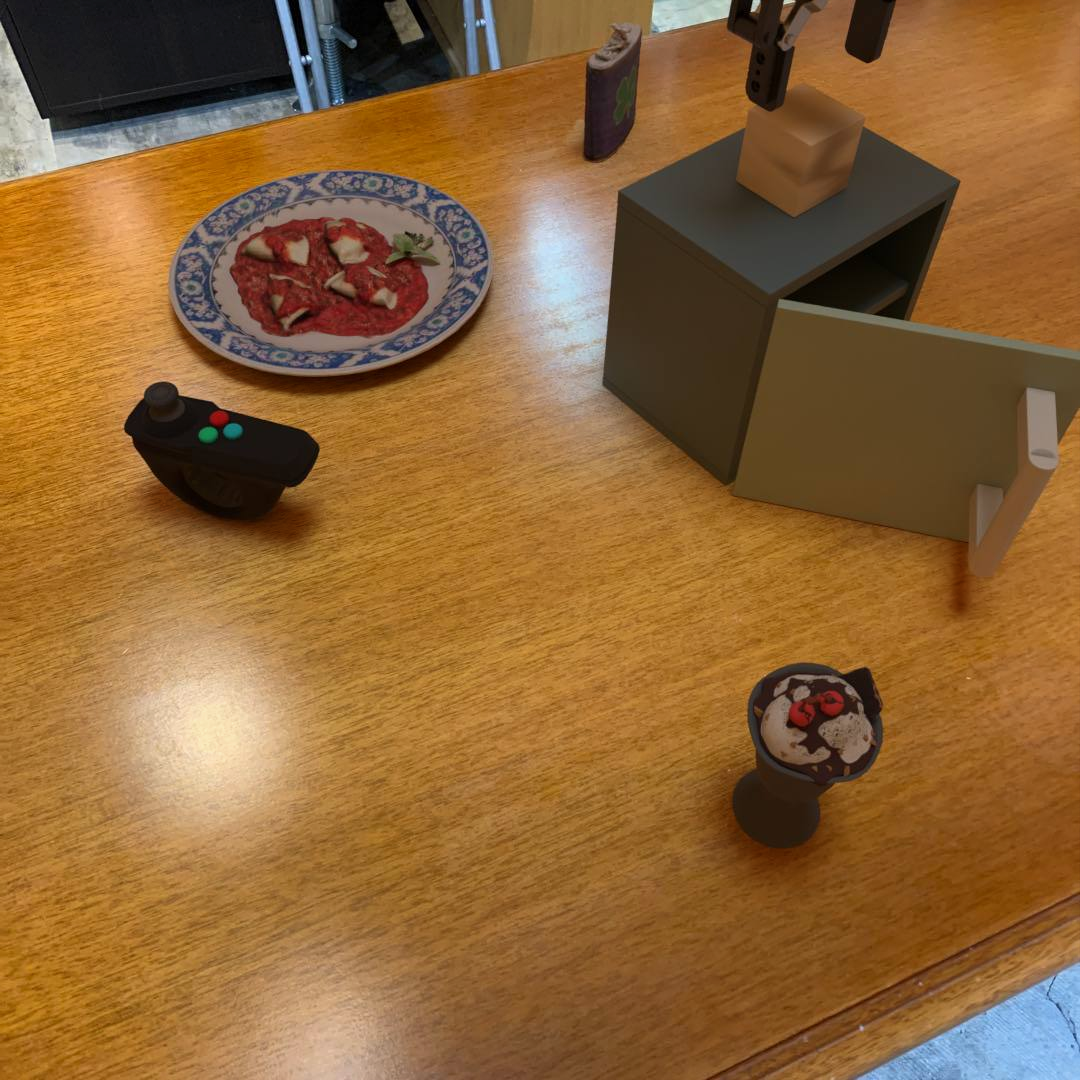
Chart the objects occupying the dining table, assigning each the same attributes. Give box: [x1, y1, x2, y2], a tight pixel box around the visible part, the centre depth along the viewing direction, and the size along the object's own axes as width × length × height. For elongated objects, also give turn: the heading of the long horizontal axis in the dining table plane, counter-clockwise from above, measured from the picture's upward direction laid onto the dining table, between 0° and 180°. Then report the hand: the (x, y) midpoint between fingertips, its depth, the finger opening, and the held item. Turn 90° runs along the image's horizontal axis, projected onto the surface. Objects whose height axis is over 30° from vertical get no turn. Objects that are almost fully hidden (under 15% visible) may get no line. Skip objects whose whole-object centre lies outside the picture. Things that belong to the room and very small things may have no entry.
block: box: [736, 82, 867, 217], centre depth 67 cm, size 5×5×5 cm
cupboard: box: [601, 126, 962, 487], centre depth 76 cm, size 13×18×17 cm
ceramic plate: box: [167, 169, 494, 378], centre depth 87 cm, size 26×26×3 cm
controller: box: [123, 381, 321, 522], centre depth 70 cm, size 4×12×10 cm, turn 73°
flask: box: [582, 21, 643, 163], centre depth 98 cm, size 9×3×11 cm, turn 155°
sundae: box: [731, 661, 884, 850], centre depth 55 cm, size 7×7×15 cm
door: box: [732, 299, 1080, 579], centre depth 66 cm, size 7×18×17 cm, turn 76°
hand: (813, 79), depth 63 cm, fingers open, 8 cm apart
